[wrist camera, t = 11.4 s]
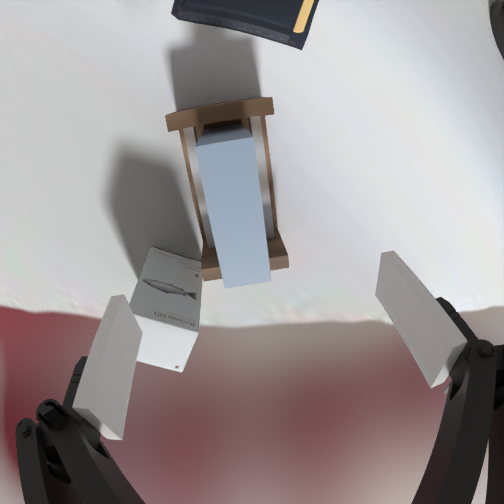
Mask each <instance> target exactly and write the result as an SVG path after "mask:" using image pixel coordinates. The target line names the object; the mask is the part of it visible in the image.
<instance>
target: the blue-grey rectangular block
mask: <svg viewBox="0 0 504 504" xmlns="http://www.w3.org/2000/svg"><path fill="white" fill-rule="evenodd" d="M195 150H196V155H197V160H198V166H199V171H200V176H201V181H202V186H203V191H204V195H205V200H206V205H207V210H208V215H209V219H210V224H211V229H212V233H213V238H214V242H215V247H216V251H217V256H218V260H219V265H220V269H221V273H222V278H223V282H224V286H225V288H230V287H236V286H242V285H248V284H254V283H260V282H266V281H271V273H270V264H269V256H268V247H267V239H266V231H265V223H264V215H263V207H262V199H261V191H260V183H259V175H258V168H257V160H256V153H255V145H254V138H253V136H252V135H251V134H250V132H249V131H248V130H247V129H246V127H245V126H244V125H243V124H242V123H240V124H233V125H227V126H221V127H215V128H209V129H204V130H203V132H202V134H201V136H200V138H199V140H198V142H197V144H196V146H195Z"/></svg>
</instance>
